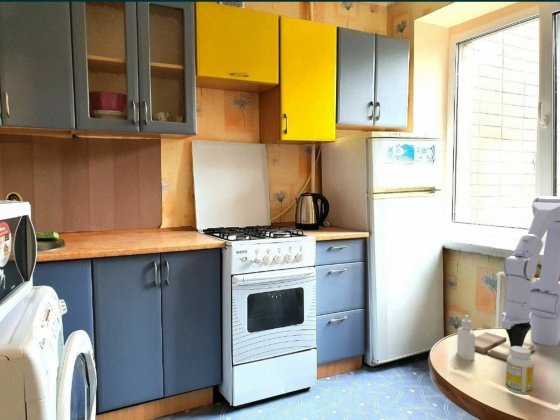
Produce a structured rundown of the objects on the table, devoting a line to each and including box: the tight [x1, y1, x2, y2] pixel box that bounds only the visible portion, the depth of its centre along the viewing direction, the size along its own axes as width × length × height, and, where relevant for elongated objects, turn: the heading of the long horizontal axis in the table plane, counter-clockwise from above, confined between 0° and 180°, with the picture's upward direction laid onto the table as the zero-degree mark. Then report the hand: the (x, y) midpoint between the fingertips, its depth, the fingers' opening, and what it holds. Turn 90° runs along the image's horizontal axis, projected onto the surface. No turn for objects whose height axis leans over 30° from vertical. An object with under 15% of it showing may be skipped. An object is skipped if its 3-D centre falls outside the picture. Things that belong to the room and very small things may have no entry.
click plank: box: [487, 340, 535, 361], centre depth 117 cm, size 13×7×2 cm, turn 128°
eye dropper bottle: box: [456, 314, 476, 361], centre depth 114 cm, size 4×6×12 cm
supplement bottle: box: [505, 346, 534, 396], centre depth 97 cm, size 5×5×10 cm
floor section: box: [475, 331, 536, 362], centre depth 119 cm, size 14×14×2 cm
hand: (516, 349), depth 115 cm, fingers closed, pressing on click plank
